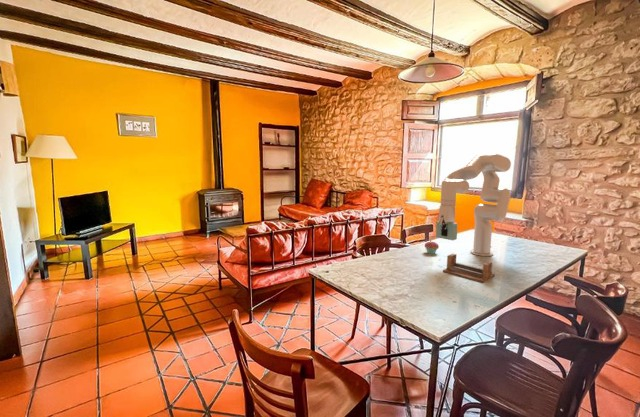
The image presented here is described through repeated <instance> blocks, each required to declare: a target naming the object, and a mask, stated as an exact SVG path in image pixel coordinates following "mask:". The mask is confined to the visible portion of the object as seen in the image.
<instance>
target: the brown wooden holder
mask: <svg viewBox="0 0 640 417" xmlns="http://www.w3.org/2000/svg"><path fill="white" fill-rule="evenodd" d="M446 259H447V261H446V268H444V269H442V272H443V273H446V274H449V275H453V276H456V277H461V278H464V279H466V280H467V279H468V280H471V281H475V282H478V283H481V284H482V283H485V282H487V281H488V280H490V279H492V278H493V277H495V273H493V262H492V261H489V260H488V261H486V262H484V263H482V268H480V267H475V266H471V265H468V264H467V265H466V264H463V263H460V262H457V253H451V254H448V255H447V258H446Z"/></svg>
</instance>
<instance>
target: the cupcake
mask: <svg viewBox="0 0 640 417" xmlns="http://www.w3.org/2000/svg"><path fill="white" fill-rule="evenodd" d="M439 247H440V246H439V244H438V243H437V242H434V241H432V236H431V235H429V241H428V242H426V243H424V248H425V249H426V252H427V253H428V254H430V255H434V254H436V253H437V252H436V251H437V250H438V249H439Z"/></svg>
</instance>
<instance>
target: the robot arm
mask: <svg viewBox="0 0 640 417" xmlns="http://www.w3.org/2000/svg"><path fill="white" fill-rule="evenodd" d="M511 166H512V162H511V160H510V158H508V157H507V156H504V155H501V154H497V153H479V154H476V155H475V156H474V157H473V158H472V159H471V160H470V161H469V162H468V163H467V164H466V165H465V166H464V167H462V168H460V169H456V170H455V171H453V172H451V173H449V174H448V175H447V176H446V177H445V178H444V179H443V181H441V189H440V206H439V212H438V218H437V219H438V220H437V221H438V222H439V225H440V226H441V235H442V236H447V224H448V223H455V219H456V203H457V201H456V200H457V199H456V198H457V194H465V193H466V192H468V190H469V189H470V184H469V182H468V180H472V179H475V178H477V177H478V176H479V175H480V174H482V176H483V182H482V183H483V184H482V187H481V191H480V199H481V201H482V202H485V203H479V204H476V206H475V207H474V208H473V214H474V215H473V216H474V232H473V233H474V236H473V248H472V249H470V254H472V255H475V256H481V257H491V256H493V255H494V252H493V251H491V249H492V245H491V244H492V236H493V234H492V232H493V226H492V223H491V221H494V222H503V221H504V220H505V219H506V217H507V213H508V208H509V206H510V205H509V204H510V200H511V199H510V198H511V192H510V190H509V189H508V188H506V187H499V185H500V178H499V177H500V176H498V174H497V173H505V172H508V171H509V170H510V168H511ZM490 203H491V204H490ZM444 222H445V223H444ZM443 224H445V225H443Z"/></svg>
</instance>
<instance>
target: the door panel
mask: <svg viewBox="0 0 640 417" xmlns="http://www.w3.org/2000/svg"><path fill="white" fill-rule="evenodd" d="M444 223H445V222H444ZM443 225H445V224H443ZM435 226H436V230H435V238H438V239H444V240H448V241H449V240H450V241H456V240H457V239H458V238H457V237H458V222H454V223H448V224H447V236H442V235H441V226H440V225H439V222H438V220H437V221H436V224H435Z"/></svg>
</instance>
